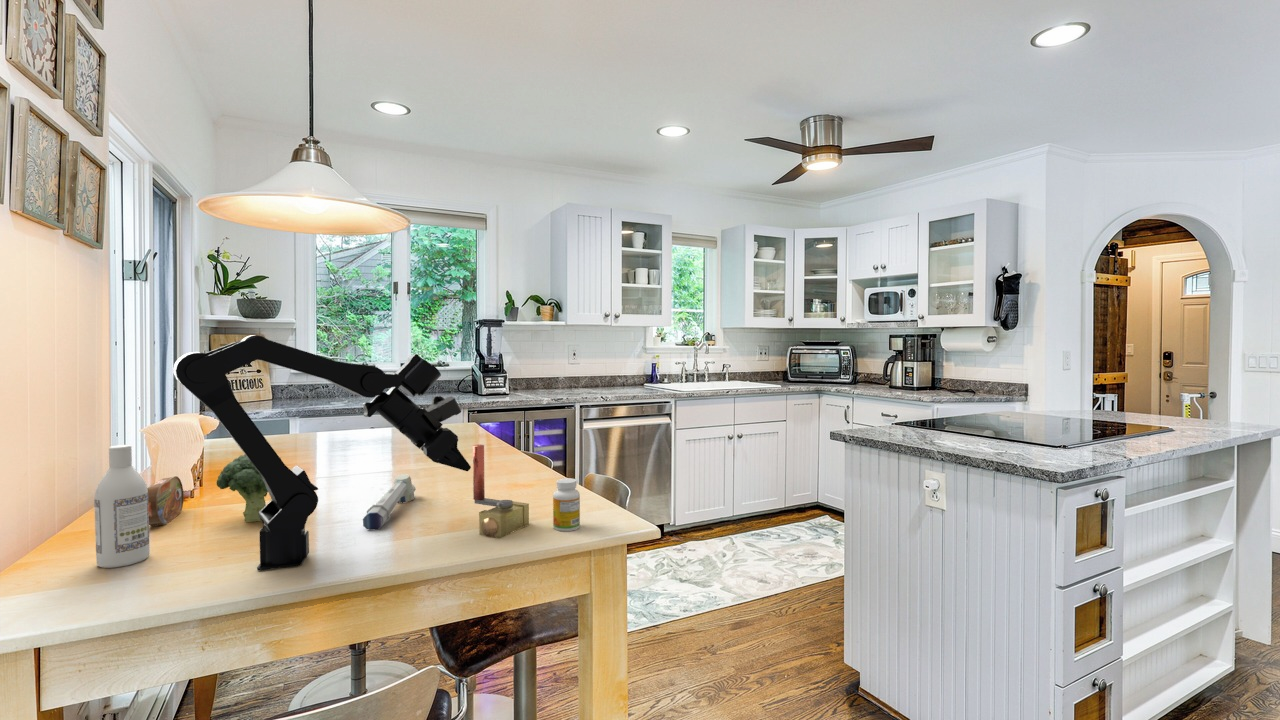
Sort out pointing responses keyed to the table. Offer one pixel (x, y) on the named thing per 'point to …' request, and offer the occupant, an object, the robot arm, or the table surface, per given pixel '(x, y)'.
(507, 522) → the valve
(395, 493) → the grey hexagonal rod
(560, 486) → the supplement bottle
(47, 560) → the table surface
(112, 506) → the bath foam
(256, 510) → the vegetable
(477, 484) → the lever
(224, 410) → the robot arm
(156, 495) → the tin
